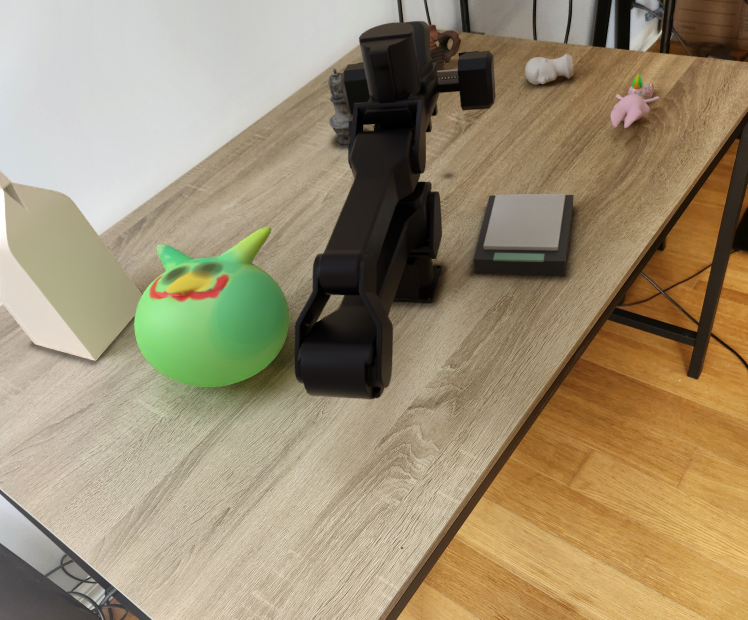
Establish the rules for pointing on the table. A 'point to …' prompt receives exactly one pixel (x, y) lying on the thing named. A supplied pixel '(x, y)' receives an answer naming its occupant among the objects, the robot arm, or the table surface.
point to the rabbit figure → (633, 103)
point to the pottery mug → (443, 46)
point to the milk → (60, 273)
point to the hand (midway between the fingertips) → (429, 57)
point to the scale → (525, 235)
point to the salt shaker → (339, 109)
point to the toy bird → (212, 316)
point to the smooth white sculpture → (548, 69)
